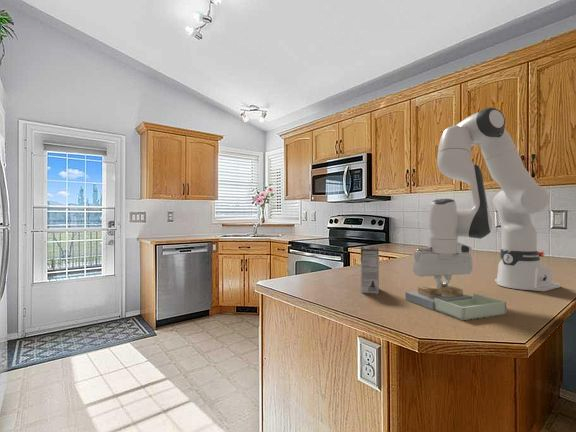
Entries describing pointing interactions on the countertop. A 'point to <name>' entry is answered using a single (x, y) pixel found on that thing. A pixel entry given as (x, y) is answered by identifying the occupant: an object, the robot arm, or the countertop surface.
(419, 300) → the board
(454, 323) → the countertop surface
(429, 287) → the tile
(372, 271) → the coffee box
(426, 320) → the countertop surface
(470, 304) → the tray
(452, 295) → the tile
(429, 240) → the robot arm
